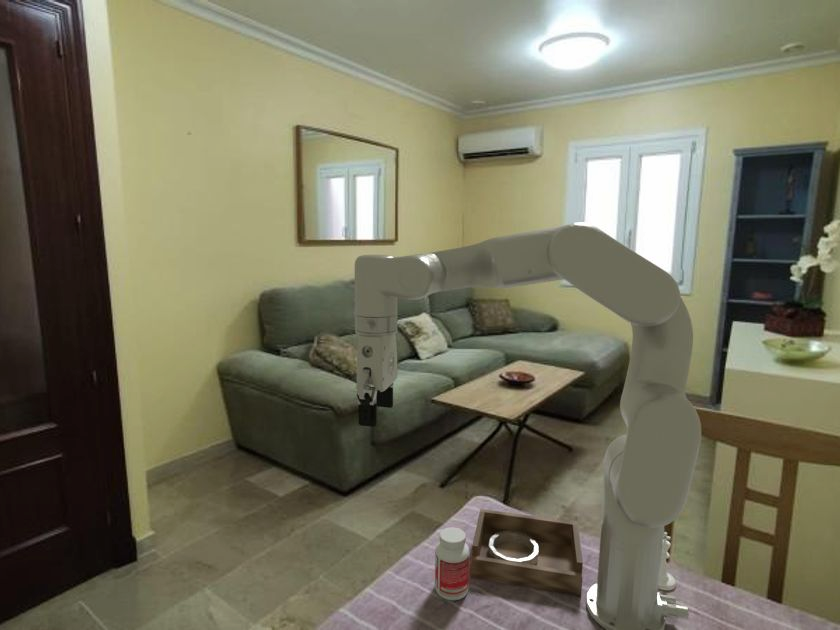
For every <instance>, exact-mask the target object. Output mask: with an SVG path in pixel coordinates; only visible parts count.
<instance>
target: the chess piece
mask: <svg viewBox="0 0 840 630" xmlns="http://www.w3.org/2000/svg"><path fill="white" fill-rule="evenodd" d="M670 541H671V536H668V532H667V531H664V537H663V545H662V555H661V565H660V575H659V585H658V590H663V591H672V590H674V589H675V588H676V579H675V578H674V577H673V575H672V574H671V573H668V572H667V559H670V558H671V555H670V553H669V552H668V551H669V549H670V547H671V542H670Z"/></svg>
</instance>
